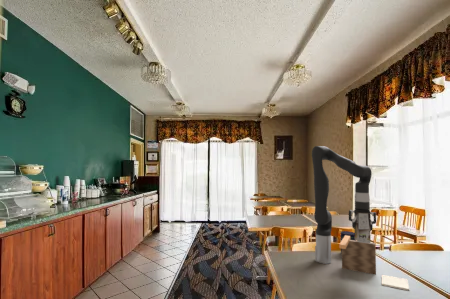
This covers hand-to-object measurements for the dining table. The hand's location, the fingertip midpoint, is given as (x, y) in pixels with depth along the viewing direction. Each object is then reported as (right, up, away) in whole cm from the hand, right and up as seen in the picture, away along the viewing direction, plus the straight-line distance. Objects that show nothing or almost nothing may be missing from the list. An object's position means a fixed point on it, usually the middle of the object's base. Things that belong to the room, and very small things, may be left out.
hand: (362, 229), depth 153 cm
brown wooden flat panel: (+2, -27, +8) cm, 28 cm away
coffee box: (0, -6, 0) cm, 6 cm away
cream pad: (+13, -26, -8) cm, 30 cm away
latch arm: (-8, -9, +4) cm, 13 cm away
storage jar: (+10, -29, +40) cm, 50 cm away
